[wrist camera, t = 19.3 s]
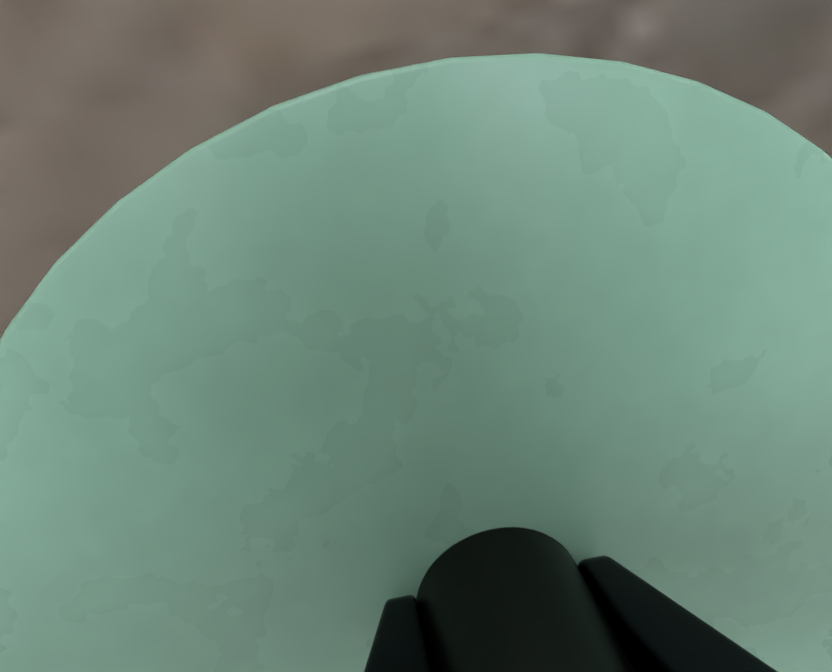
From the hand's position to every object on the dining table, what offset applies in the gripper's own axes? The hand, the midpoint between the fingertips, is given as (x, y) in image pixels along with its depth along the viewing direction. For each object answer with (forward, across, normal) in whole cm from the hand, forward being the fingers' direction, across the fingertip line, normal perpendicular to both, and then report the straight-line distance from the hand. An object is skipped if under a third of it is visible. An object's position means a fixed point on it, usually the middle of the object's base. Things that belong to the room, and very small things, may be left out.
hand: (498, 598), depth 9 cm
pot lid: (+1, 0, 0) cm, 1 cm away
